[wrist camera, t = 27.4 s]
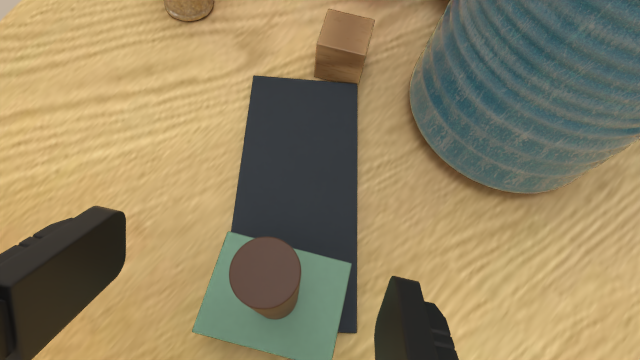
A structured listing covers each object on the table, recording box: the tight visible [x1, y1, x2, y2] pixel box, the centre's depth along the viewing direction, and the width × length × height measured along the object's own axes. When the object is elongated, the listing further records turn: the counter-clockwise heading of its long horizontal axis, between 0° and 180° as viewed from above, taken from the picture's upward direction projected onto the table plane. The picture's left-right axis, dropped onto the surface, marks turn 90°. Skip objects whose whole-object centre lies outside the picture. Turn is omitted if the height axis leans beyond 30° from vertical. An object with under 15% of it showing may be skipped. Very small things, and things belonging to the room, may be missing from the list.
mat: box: [231, 76, 357, 333], centre depth 28 cm, size 9×20×1 cm, turn 177°
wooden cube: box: [314, 9, 375, 87], centre depth 31 cm, size 4×4×4 cm
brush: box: [192, 232, 352, 360], centre depth 19 cm, size 8×6×12 cm
